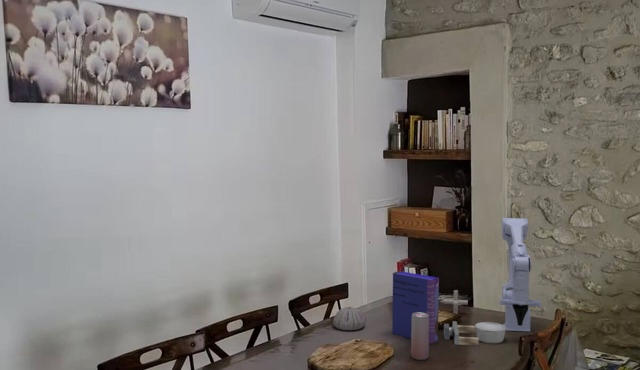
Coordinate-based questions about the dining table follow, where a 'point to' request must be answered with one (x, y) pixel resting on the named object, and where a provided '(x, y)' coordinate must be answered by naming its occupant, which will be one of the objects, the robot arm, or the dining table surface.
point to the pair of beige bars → (467, 339)
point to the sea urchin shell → (349, 319)
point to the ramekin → (490, 332)
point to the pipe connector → (455, 302)
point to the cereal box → (414, 302)
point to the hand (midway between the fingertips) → (519, 324)
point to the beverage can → (420, 336)
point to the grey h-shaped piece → (451, 332)
